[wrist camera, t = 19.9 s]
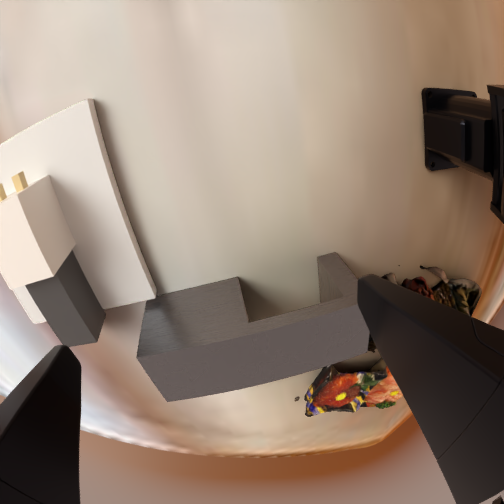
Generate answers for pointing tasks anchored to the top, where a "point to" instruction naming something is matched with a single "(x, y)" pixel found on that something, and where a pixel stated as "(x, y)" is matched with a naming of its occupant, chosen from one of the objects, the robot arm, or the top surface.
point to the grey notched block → (247, 336)
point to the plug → (46, 261)
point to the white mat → (81, 203)
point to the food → (379, 377)
